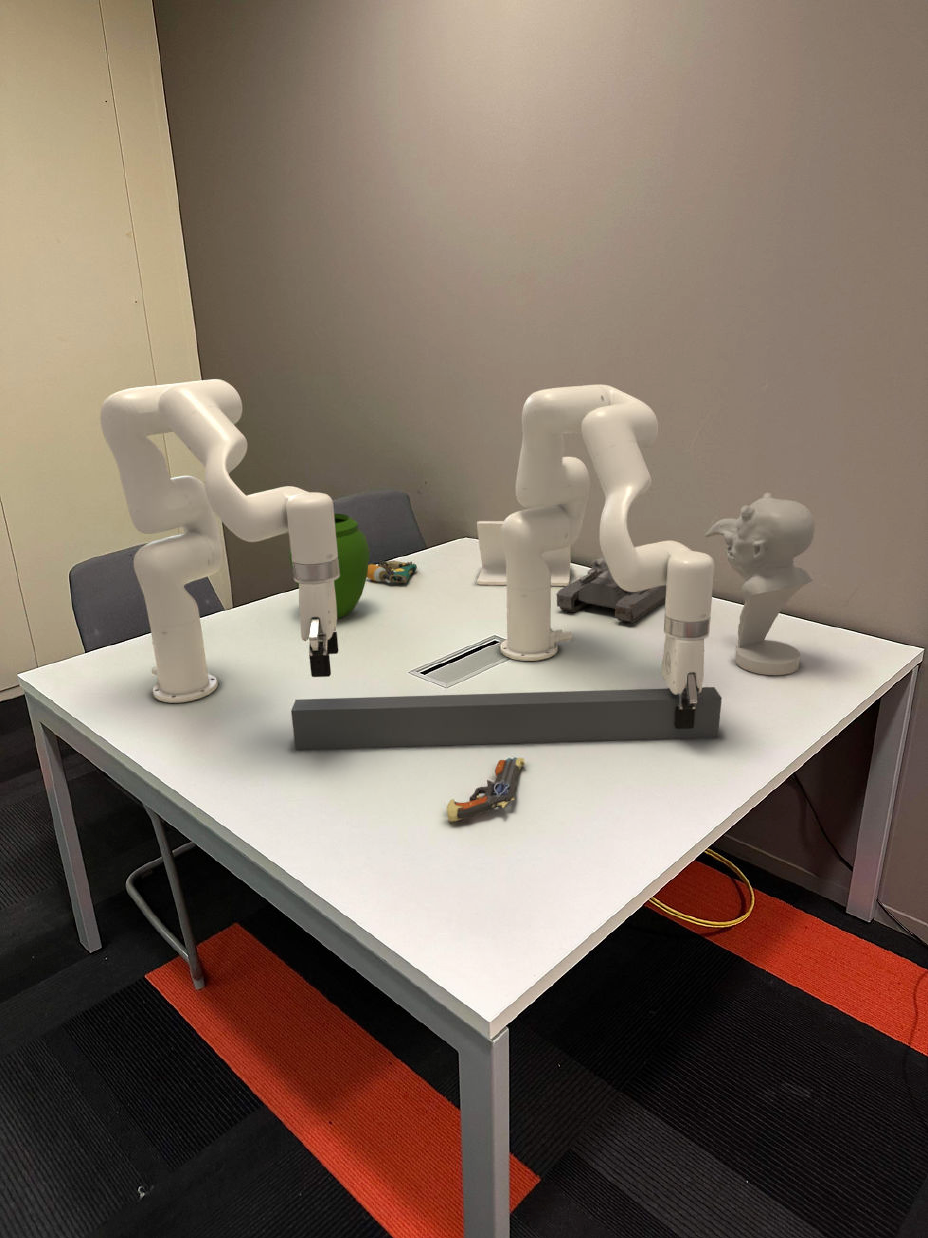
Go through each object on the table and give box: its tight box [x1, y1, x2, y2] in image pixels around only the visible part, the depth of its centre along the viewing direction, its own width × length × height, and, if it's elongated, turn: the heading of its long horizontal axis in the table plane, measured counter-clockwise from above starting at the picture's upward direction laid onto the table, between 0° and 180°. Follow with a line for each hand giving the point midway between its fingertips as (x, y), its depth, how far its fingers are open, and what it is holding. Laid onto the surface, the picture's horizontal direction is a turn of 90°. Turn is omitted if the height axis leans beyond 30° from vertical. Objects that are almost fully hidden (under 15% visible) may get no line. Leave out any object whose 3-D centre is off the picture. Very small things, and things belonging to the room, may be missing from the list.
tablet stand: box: [476, 520, 572, 587], centre depth 236 cm, size 18×25×17 cm
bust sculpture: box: [704, 492, 816, 676], centre depth 176 cm, size 16×24×35 cm, turn 28°
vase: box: [288, 513, 370, 619], centre depth 209 cm, size 20×20×24 cm
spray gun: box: [366, 560, 418, 584], centre depth 241 cm, size 4×17×15 cm
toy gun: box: [446, 756, 526, 822], centre depth 134 cm, size 3×19×10 cm
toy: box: [556, 555, 666, 624], centre depth 212 cm, size 25×20×15 cm
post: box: [290, 686, 723, 751], centre depth 150 cm, size 74×4×8 cm, turn 91°
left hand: (325, 664), depth 146 cm, fingers open, 9 cm apart
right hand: (680, 720), depth 151 cm, fingers closed on post, 4 cm apart
